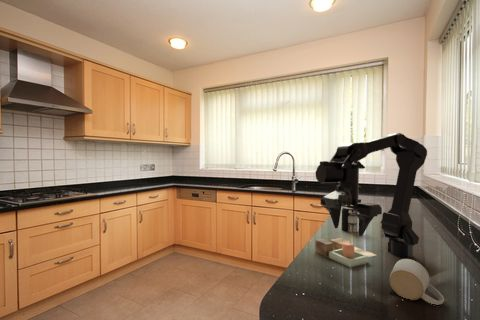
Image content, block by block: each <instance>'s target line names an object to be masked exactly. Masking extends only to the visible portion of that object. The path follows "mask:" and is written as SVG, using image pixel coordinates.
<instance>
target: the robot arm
mask: <svg viewBox="0 0 480 320" xmlns="http://www.w3.org/2000/svg"><path fill="white" fill-rule="evenodd" d="M385 149H390V152H391V153H393V154H394V155H395V161H396V164H397V166H398V168H399V169H398V173H397V178H396V185H395V188H394V193H393V198H392V204H391V207H390V209H389V210H388V211H387V212H386V211H383V210H382V207H381V206H382V205H380V204H377V203H374V202H373V203H372V202H362V199H360V198H359V191H360V190H361V191H362V186H361V185H359V182H360V181H359V178H360V176H359V175H360V173H359V172H360V171H359V170H362V169H365V168H366V167H365V165H363V164H362V163H361V160H363V159H365V158H366V157H367V156H368V155H370V154H372V153H375V152H378V151H381V150H385ZM427 156H428V150H427V148H426V147H425V146H424V144H423V143H420V142H419V141H417V140H414V139H413V138H409V137H407V136H406V135H404V134H403V133H401V132H397V133H395V132H394V133H388V134H387V135H385V136H384V135H383V136H380V137H376V138H374V139H371V140H367V141H363V142H349V143H342V144H339V145H338V146H337V148H336V151H335V152H334V154H333V156H332V157H331V158H330V160H329V161H327V160H326V161H325V160H320V161H319V165H318V166H317V168H316V171H315V179H316V181H317V182H318V183H319V184H337V183H338V185H336V186H335V190H334V191H332V192H330V193H328V194H326V195H324V196H322V197H321V198H320V206H322V207H323V208H324V209H325V210H327V212H328V213H329V215H330V218H331V220H332V224H333V228H334V229H338V228H339V225H340V219H341V214H342V208H343V207H347V208H352V209H357V211H358V214H356V215H357V220H358V236H359V237H363V235H364V234H365V232H366V230H367V228H368V227H369V224H370V223H371V222H372V220H373V219H374V217H378V215H381V217H382V218H381V221H380V224H381V227H380V228H381V229H382V231H383V234H384V235H383V236H384V237H385V238H387V239H388V241H387V252H388V253H390V254H391V255H392V256H395V257H399V258H402V259H411V258H413V257H414V246H415V245H418V243H419V240H420V237H419V236H418V234H417V233H415V231H414V230H413V221H412V217H411V216H410V206H411V202H412V197H413V193H414V192H413V191H414V185H415V182H416V177H417V171H418V170H419V169H420V168H421V167H422V166H423V165H424V164H425V162H426V159H427Z"/></svg>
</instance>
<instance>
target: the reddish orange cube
mask: <svg viewBox="0 0 480 320" xmlns="http://www.w3.org/2000/svg"><path fill="white" fill-rule="evenodd" d="M354 247H355V244H354V243H342V256H344V257H346V258H348V259H353V258H354Z"/></svg>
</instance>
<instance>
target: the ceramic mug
mask: <svg viewBox="0 0 480 320" xmlns="http://www.w3.org/2000/svg"><path fill="white" fill-rule="evenodd" d="M389 285H390V288H391V289H392V290H393V292H394V293H395V294H396V295H398V296H399V297H400V296H401V298H402V297H403V298H402V299H404V298H406V299H405V300H407V299H410V300H409V301H416V300H419V299H422V300H423V301H425V302H426V303H428V304H430V303H431V304H430V305H432V304H436V305H438V304H442V305H443V303H444V302H445V298H444V296H443V294H442V293H441V292H440V291H439V290H438V289H437V288H436V287H435V286H433V285H432V284H431V283H430V274H429V272H428V271H427V269H426V268H425V267H424V266H423V265H422V264H421V263H420V262H419V261H417V260H416V261H415V260H414V259H411V258H408V259H407V258H402V259H399V260H398V261H396V263H395V265H394V266H393V268H392V270H391V272H390V274H389ZM426 290H427V291H429V292H430V293H431V294H432V295H434V297H435V298H436V299H435V298H433V297H431V296H430V295H429V294H427V293H426ZM437 298H438V299H439V300H438V299H437Z"/></svg>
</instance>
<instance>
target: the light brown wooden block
mask: <svg viewBox="0 0 480 320" xmlns="http://www.w3.org/2000/svg"><path fill="white" fill-rule="evenodd" d="M329 240H330V241H329V242H332V243H333V250H338V249H342V243H351V244H353V243H352V242H351V241H349V240H346V239H344V238H341V237H339V238H338V237H337V238H332V239H329Z"/></svg>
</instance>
